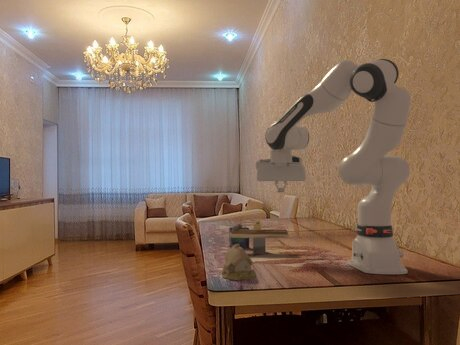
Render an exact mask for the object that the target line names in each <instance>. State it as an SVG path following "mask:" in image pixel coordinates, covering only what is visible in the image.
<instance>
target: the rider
mask: <svg viewBox="0 0 460 345" xmlns="http://www.w3.org/2000/svg"><path fill="white" fill-rule="evenodd" d="M253 229H254V231H261V230H262V223H261V221H260V220H255V222H253Z"/></svg>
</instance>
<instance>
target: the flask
mask: <svg viewBox="0 0 460 345" xmlns="http://www.w3.org/2000/svg"><path fill="white" fill-rule="evenodd" d="M241 224H242V223H241V222H239V223H237V224H236V226H238V229H250V228H249V227H247V226H245V225H244V226H243V225H241ZM228 228H229V229H228V230H229V232H228V235H229V237H228V239H229V244H228V245H229V248H231V247H232V246H233V245H235V244H239V245H240V247H242V248H243V249H249V248H250V238H230V233H231V231H232V226H229V227H228Z"/></svg>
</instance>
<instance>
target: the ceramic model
mask: <svg viewBox="0 0 460 345" xmlns="http://www.w3.org/2000/svg"><path fill="white" fill-rule="evenodd" d="M244 249H245V248H242V247H240V245H239V244H235V245H233V246H232V247H229V249H228V250H227V252H226V253H225V255H224V260H225V261H226V262H225V263H224V264H223V267H222V270H221V273H222V274H221V276H222V278H223V279H227V280H232V281H241V280H246V279H247V280H248V279H255V277H256V276H257V273H256V270H255V269H254V268H253V269H252V265H254V262H253V260H252V259H251V257H250V255H248V253H247V252H246V251H245V250H244Z"/></svg>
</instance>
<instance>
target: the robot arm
mask: <svg viewBox="0 0 460 345" xmlns="http://www.w3.org/2000/svg"><path fill="white" fill-rule="evenodd" d="M399 72H400V71H399V68H398V66H397V64H396V63H395V62H394V61H392V60H391V59H387V58H380V59H373V60H370V61H367V62H365V63H362V64H360V65H358V64H356V63H355V62H354V61H353V60H352V61H351V60H348V59H347V60H346V59H345V60H340V61H339V62H338V63H337V64H335V65H334V66H333V67H332V68H331V69H330V70H329V71H328V72H327V73H326V74H325V75H324V77H323V78H322V80H321V81H320V82H319V83H318V84H317V85H316V86H315V87H314V88H313V89H312V90H310V91H309V92H307V93H306V94H305V95H303V96H301V97H300V98H299V99H297V100H296V102H294V104H293V105H291V107H290V108H289V109H288V110H287V111H286V112H284V114H283V115H281V117H280V118H278V119H277V120H274V121H273V122H272V123H271V125H270V126H269V127H268V128H267V130H266V132H265V135H264V136H265V137H264V138H265V143H266V144H267V145H268V147H269V148H270V149H269V154H270V155H269V158H267V159H263V158H261V159H258V160H257V161H256V162H255V169H256V170H257V171H256V180H257V181H258V182H274V185H275V187H276V189H277V190H276V191H277V193H285V192H286V191H285V189H286V187H287V185H288V182H305V181H306V178H307V176H306V175H307V174H306V168H305V165H304V164H303V158H302V157H301V156H297V155H294V154H292V150H293V151H296V150H297V151H298V150H304V149H305V148H306V147H307V146H308V145H309V143H310V133H309V131H308V129H307V128H306V127H303V126H300V125H299V123H300V122H301V121H302V120H303V119H305V118H307V117H310V116H313V115H318V114H325V113H332V112H334V111H336V110H337V109H339V107H341V106H342V104H344V102H345V101H346V100H347V99H348V98H349V97H350V95H351V94H352V93H353V92H354V94H356V95H358V96H359V97H361V98H364V99H365V100H367V101H368V102H371V103H374V109H373V112H372V115H371V119H370V122H369V126H368V129H367V132H366V135H365V136H364V139H363V140H362V141H361V143H360V144H359V146H358V147H357V148H356V149H355V150H354V151H353V152H352V153H350V154H349V155H347V156H345V157H344V158H343V159H342V160H340V161H339V162H340V163H339V166H338V171H337V172H338V175H339V176H338V177H339V178H340V180H341V181H342V183H344V184H347V185H350V186H351V185H352V186H355V187H370V186H371V190H370V192H369V194H368V195H366V196H365V197H362V198H361V199H360V200H359V202H358V204H357V224H356V234H357V235H356V237H355V238H354V239H353V240H352V244H351V246H352V249H351V259H350V260H347V262H346V263H347V265H349V266H350V267H353V268H355V269H356V270H359V271H360V272H362V273H365V274H374V275H406V274H408V269H407V268H406V266H405V265H404V263H403V262H402V261H400V260H401V259H404V250H399V249H400V247H399V245H397V244H396V241H395V240H394V238H393V237H394V229H393V225H392V218H391V217H392V204H393V200H394V197H395V195H396V193H397V191H398V189H400V187H401V186H402V185H403V184H405V182H407V181H408V179H409V177H410V173H411V170H410V169H411V168H410V165H409V163H408V161H407V160H406V159H405V158H403V157H399V156H395V155H392V154H391V155H390V154H389V155H388V153H389V152H392V151H393V150H395V149H396V148H398V147H399V145H400V144H401V141H402V138H403V135H404V133H405V132H404V131H405V128H406V126H407V122H408V119H409V115H410V110H411V103H412V102H411V101H412V96H411V94H410V92H409V91H408V90H407V89H405V88H403V87H402V86H397V84H396V83H397V81H398V78H399ZM279 182H283V184H284V185H283V186H282V187H279Z"/></svg>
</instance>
